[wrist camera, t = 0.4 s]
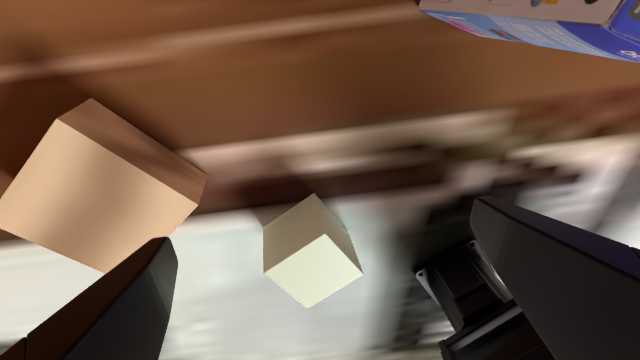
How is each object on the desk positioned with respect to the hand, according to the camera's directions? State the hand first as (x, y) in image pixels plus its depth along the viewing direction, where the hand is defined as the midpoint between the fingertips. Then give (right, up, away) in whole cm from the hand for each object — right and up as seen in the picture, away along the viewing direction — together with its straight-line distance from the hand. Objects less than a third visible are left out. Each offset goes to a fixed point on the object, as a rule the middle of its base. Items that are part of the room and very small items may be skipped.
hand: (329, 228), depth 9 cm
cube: (-1, -3, +17) cm, 17 cm away
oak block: (-14, +1, +12) cm, 19 cm away
